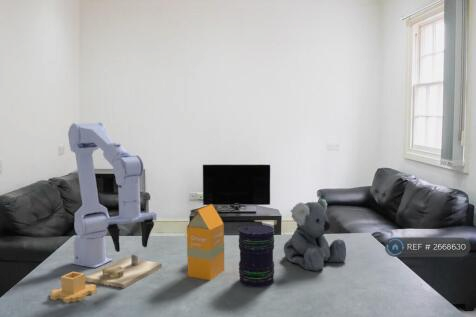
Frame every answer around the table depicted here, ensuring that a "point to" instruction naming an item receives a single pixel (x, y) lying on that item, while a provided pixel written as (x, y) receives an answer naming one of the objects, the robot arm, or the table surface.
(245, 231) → the storage jar
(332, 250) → the koala plush
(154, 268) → the carrier plate
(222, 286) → the table surface
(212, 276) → the orange juice
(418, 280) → the table surface
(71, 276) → the gear
